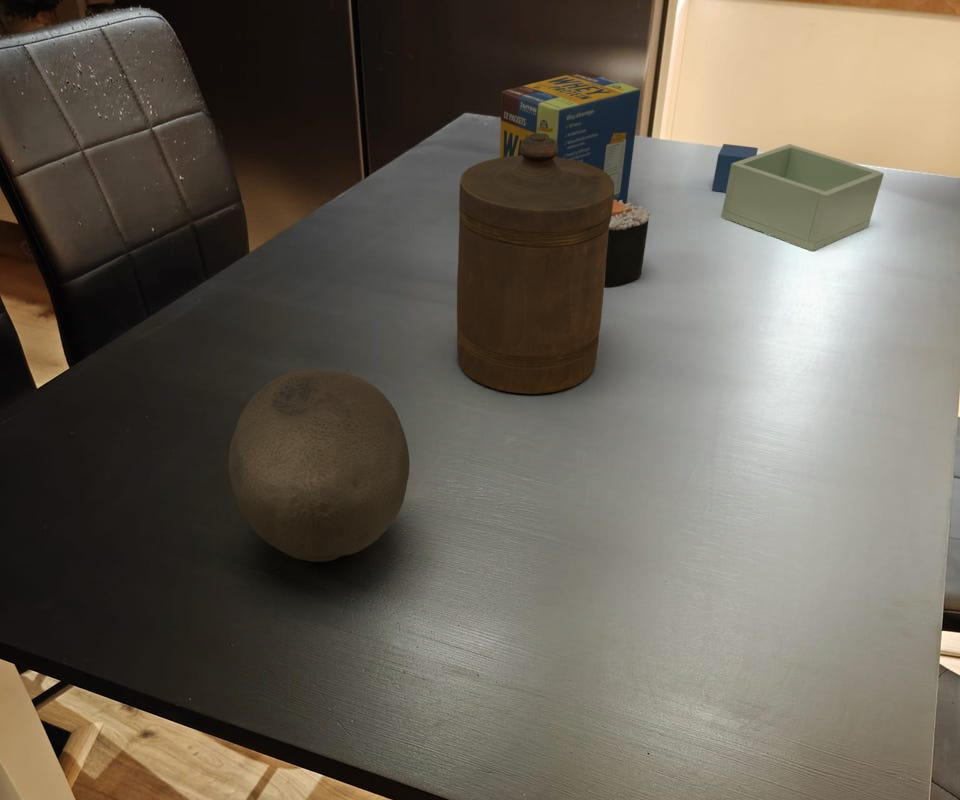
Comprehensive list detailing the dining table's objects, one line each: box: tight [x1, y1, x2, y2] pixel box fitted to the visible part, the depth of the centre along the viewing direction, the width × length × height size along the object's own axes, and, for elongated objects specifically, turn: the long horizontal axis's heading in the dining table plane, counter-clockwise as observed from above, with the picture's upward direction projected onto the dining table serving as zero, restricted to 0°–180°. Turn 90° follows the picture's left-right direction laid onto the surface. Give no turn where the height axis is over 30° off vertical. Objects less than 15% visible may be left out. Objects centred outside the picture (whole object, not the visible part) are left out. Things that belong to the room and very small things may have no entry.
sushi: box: [604, 199, 651, 288], centre depth 113 cm, size 8×8×8 cm
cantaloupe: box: [228, 368, 410, 563], centre depth 71 cm, size 14×14×15 cm
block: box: [711, 143, 759, 193], centre depth 136 cm, size 5×5×5 cm
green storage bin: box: [721, 143, 885, 252], centre depth 126 cm, size 15×13×7 cm
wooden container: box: [456, 133, 614, 395], centre depth 92 cm, size 15×15×22 cm
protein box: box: [499, 70, 642, 204], centre depth 124 cm, size 10×15×16 cm
